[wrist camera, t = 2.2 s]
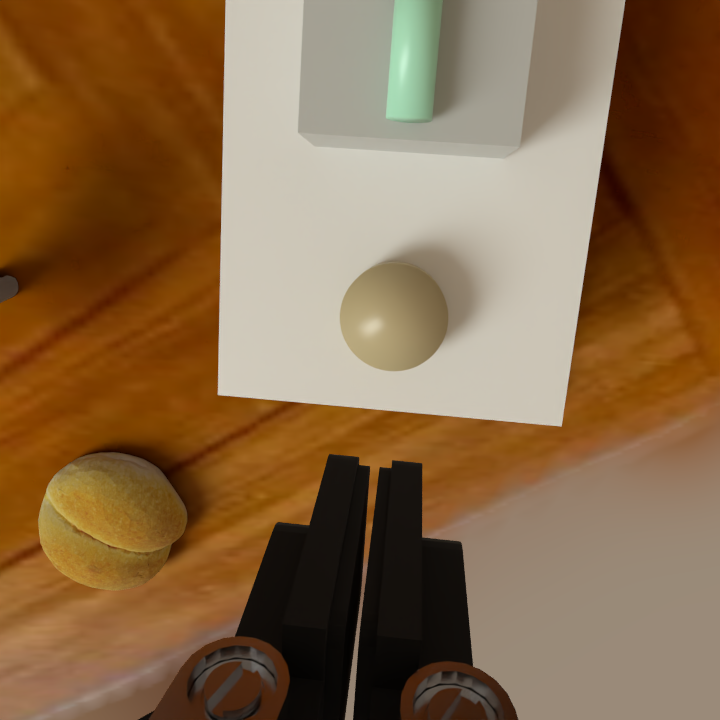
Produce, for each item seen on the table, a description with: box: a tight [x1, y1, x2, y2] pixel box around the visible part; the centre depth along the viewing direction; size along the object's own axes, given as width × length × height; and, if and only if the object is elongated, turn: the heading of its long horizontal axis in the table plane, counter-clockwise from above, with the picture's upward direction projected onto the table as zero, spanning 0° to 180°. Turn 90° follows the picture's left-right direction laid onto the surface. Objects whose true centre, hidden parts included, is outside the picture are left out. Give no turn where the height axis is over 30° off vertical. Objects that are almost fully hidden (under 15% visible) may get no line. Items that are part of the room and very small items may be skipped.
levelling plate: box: [218, 0, 625, 426], centre depth 21 cm, size 20×14×6 cm
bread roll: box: [38, 452, 187, 590], centre depth 36 cm, size 8×9×4 cm
